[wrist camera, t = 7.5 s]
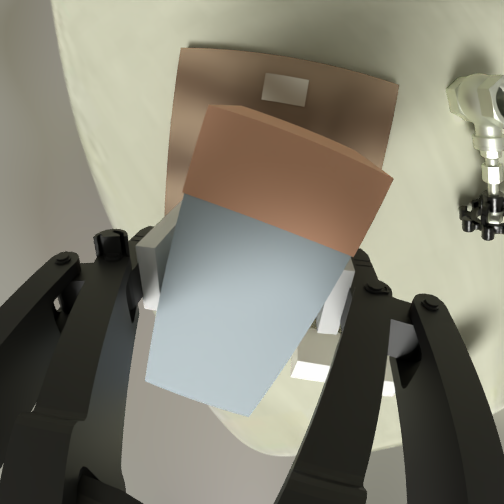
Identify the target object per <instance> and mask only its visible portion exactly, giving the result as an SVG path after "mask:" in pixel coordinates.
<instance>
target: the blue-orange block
mask: <svg viewBox="0 0 504 504" xmlns="http://www.w3.org/2000/svg"><path fill="white" fill-rule="evenodd" d="M392 181H393V178H392V177H391V176H389V175H388V174H387V173H385V172H384V171H383V170H381V169H380V168H379V167H377V166H376V165H375V164H373V163H372V162H371V161H369V160H368V159H366V158H365V157H364V156H362V155H361V154H359V153H358V152H357V151H355V150H353V149H351V148H349V147H347V146H344V145H342V144H340V143H338V142H335V141H333V140H331V139H329V138H326V137H324V136H322V135H319V134H317V133H314V132H312V131H309V130H307V129H305V128H302V127H299V126H297V125H294V124H292V123H289V122H287V121H284V120H281V119H278V118H276V117H273V116H270V115H267V114H265V113H262V112H259V111H256V110H253V109H250V108H247V107H244V106H237V105H208V108H207V111H206V114H205V117H204V120H203V123H202V126H201V130H200V133H199V136H198V139H197V142H196V146H195V149H194V152H193V156H192V159H191V162H190V166H189V169H188V173H187V176H186V180H185V184H184V187H183V191H182V193H184V196H183V200H182V203H181V207H180V211H179V215H178V219H177V223H176V227H175V231H174V235H173V239H172V243H171V247H170V252H169V256H168V260H167V265H166V269H165V274H164V278H163V283H162V288H161V293H160V298H159V303H158V308H157V313H156V318H155V324H154V329H153V335H152V341H151V346H150V352H149V359H148V365H147V372H146V378H145V381H146V382H149V383H151V384H153V385H156V386H158V387H161V388H163V389H166V390H168V391H171V392H174V393H177V394H179V395H182V396H185V397H187V398H190V399H193V400H196V401H199V402H201V403H205V404H207V405H210V406H214V407H217V408H220V409H223V410H226V411H230V412H233V413H236V414H240V415H243V416H247V417H249V416H250V415H251V413H252V412H253V411H254V409H255V408H256V406H257V405H258V404H259V402H260V401H261V399H262V398H263V397H264V395H265V394H266V392H267V391H268V390H269V388H270V387H271V385H272V384H273V382H274V381H275V379H276V378H277V377H278V375H279V374H280V372H281V371H282V369H283V368H284V366H285V365H286V363H287V362H288V360H289V359H290V357H291V356H292V354H293V353H294V351H295V350H296V348H297V347H298V345H299V343H300V342H301V340H302V339H303V337H304V336H305V334H306V332H307V331H308V329H309V328H310V326H311V324H312V323H313V321H314V320H315V318H316V316H317V315H318V313H319V311H320V310H321V308H322V306H323V305H324V303H325V301H326V300H327V298H328V296H329V295H330V293H331V291H332V290H333V288H334V286H335V284H336V283H337V281H338V279H339V278H340V276H341V274H342V272H343V270H344V269H345V267H346V265H347V263H348V262H349V260H350V258H351V256H352V257H354V255H355V254H356V252H357V250H358V248H359V246H360V244H361V243H362V241H363V239H364V237H365V235H366V233H367V231H368V229H369V228H370V226H371V224H372V222H373V220H374V218H375V216H376V214H377V212H378V210H379V208H380V206H381V204H382V202H383V200H384V198H385V196H386V194H387V192H388V190H389V188H390V185H391V183H392Z"/></svg>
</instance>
